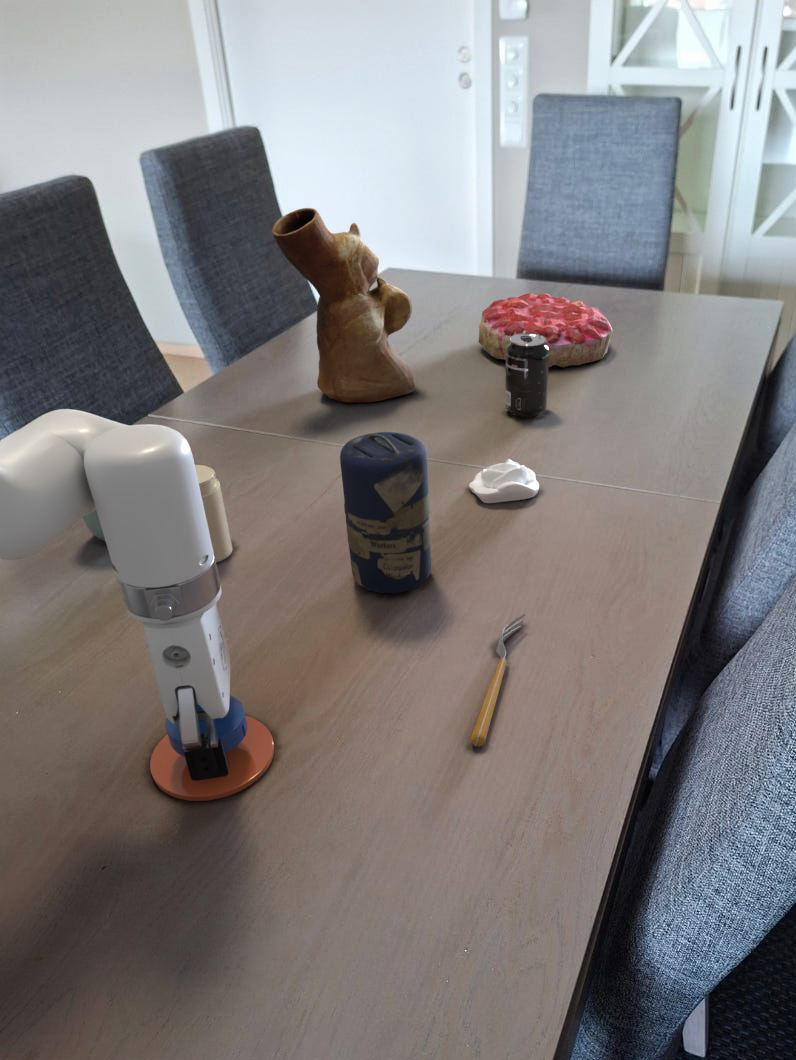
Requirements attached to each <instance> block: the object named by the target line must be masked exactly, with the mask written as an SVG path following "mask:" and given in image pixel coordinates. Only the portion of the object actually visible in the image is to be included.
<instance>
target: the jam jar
mask: <svg viewBox="0 0 796 1060" xmlns="http://www.w3.org/2000/svg"><path fill="white" fill-rule="evenodd" d="M195 469H196V473H197V478H198V483H199V487H200V492H201V496H202V501H203V506H204V510H205V515H206V520H207V524H208V529H209V534H210V539H211V543H212V548H213V553H214V557H215V561H216V564H217V563H220V562H222V561H224V560H225V559H227V558H228V557H230V556H231V554H232V553H233V542H232V538H231V532H230V528H229V523H228V518H227V511H226V508H225V502H224V497H223V492H222V487H221V483H220V481H219V480H218V479H217V478H216V471H215V470H214V469H213V468H212V467H210V466H207V465H203V464H195Z"/></svg>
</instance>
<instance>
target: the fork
mask: <svg viewBox="0 0 796 1060" xmlns="http://www.w3.org/2000/svg"><path fill="white" fill-rule="evenodd" d="M525 616H526V614H525V613H524V614H522V615H519V616H518V617H517V618H515V619H514V620H512V621H511V622H509V623H508V624H506V625H505V626H504V627H503V628H502V632H501V634H500V637H499V640H498V643H497V647H496V650H495V651H496V654H497V655H498V656H499V660H498V662H497V666H496V668H495V671H494V673H493V676H492V679H491V681H490V684H489V687H488V689H487V693H486V695H485V699H484V700H483V703H482V706H481V709H480V712H479V715H478V717H477V720H476V722H475V725H474V728H473V730H472V734H471V736H470V742H471V745H473V746H474V747H482V746H483V745H484V744H485V742H486V739H487V736H488V732H489V728H490V725H491V721H492V718H493V714H494V710H495V707H496V704H497V703H496V702H497V700H498V695H499V693H500V688H501V685H502V681H503V677H504V674H505V670H506V666H507V659H506V655H507V650H506V647H505V644H504V641H506V639H507V638H508V637H510V636H511V634H513V633H514V632H516V631H518V630H519V629H521V627H522V626H521V625H520V624H522V623H523V622H524V620H523V618H524V617H525Z"/></svg>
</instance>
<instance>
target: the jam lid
mask: <svg viewBox="0 0 796 1060" xmlns="http://www.w3.org/2000/svg"><path fill="white" fill-rule="evenodd" d="M197 711H204V710H203V709H202V708H201V706H200V705H197ZM246 716H247V715H246V711H245V708H244V705H243V704H242V702H241V701H240V700H239V699H238V698H236V697H235V696H233V695H230V701H229V711H228V713H227V714H226V716H225V717H224V718H216V719H214V721H215V727H216V733H217V738H218V739H219V738H221V740H222V744H223V748H224V752H225V753H226V752H228V751H230V750H232V749H233V748H235V747H236V746H237V745H238V744H239V743H240V742H241V741H242V740H243V739H244V737H245V736H246V733H247V721H246ZM198 723H199V730H200V732H201V733H207V734H208V730H207V723H206V720H203V721H198ZM165 730H166V733H167V734H168V737H169V741H170V744H171V747H172V748H173V749H174V751H176V752H177V753H178V754H180V755H182V756H184V757H185V755H184V752H183V748H182V740H181V734H180V728H179V722H177V724H176V725H175V724H173V723H171V722H170V721H169V720H168V718H167V717H166V719H165ZM167 734H166V735H167Z"/></svg>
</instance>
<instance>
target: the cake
mask: <svg viewBox="0 0 796 1060" xmlns="http://www.w3.org/2000/svg"><path fill="white" fill-rule="evenodd" d="M613 332H614V331H613V328H612V325H611V323H610V321H609V320H608V319H607V317H606V316H605V315H603V312H602V311H601V310H600V309H599V308H597V307H595V306H589V305H587V304H585V303H584V302H583V301H580V300H569V299H567V298H565V297H555V296H552V295H550V294H549V293H546V292H545V293H540V294H535V293H531V292H529V293H525V294H523V295H520V296H512V297H508V298H506V299H497V300H494V301H493V302H492V303H491V304H490V305H489V306H488V307H486V308H485V309H484V310H483V311H482V312H481V319H480V323H479V326H478V344H480V345H481V346H482V349H483V350H484V351H485V352H486V353H488V354H489V355H490V356H491V357H493V358H495V359H496V360H505V361H506V347H507V346H508V345H509V344H510V338H511V337H512V336H513V335H516V334H522V333H533V334H539V335H542V336H543V337H545V344H546V345H547V346H548V348H549V364H548V368H551V367H553V366H555V365H556V366H558V367H560V368H566V367H568V366H580V365H583V364H586V363H593V362H595V361H596V362H597V361H600V360H603V358H604V357H605V355H606V354H607V353H608V351H609V346H610V343H611V342H610V341H611V338H612V335H613Z"/></svg>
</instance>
